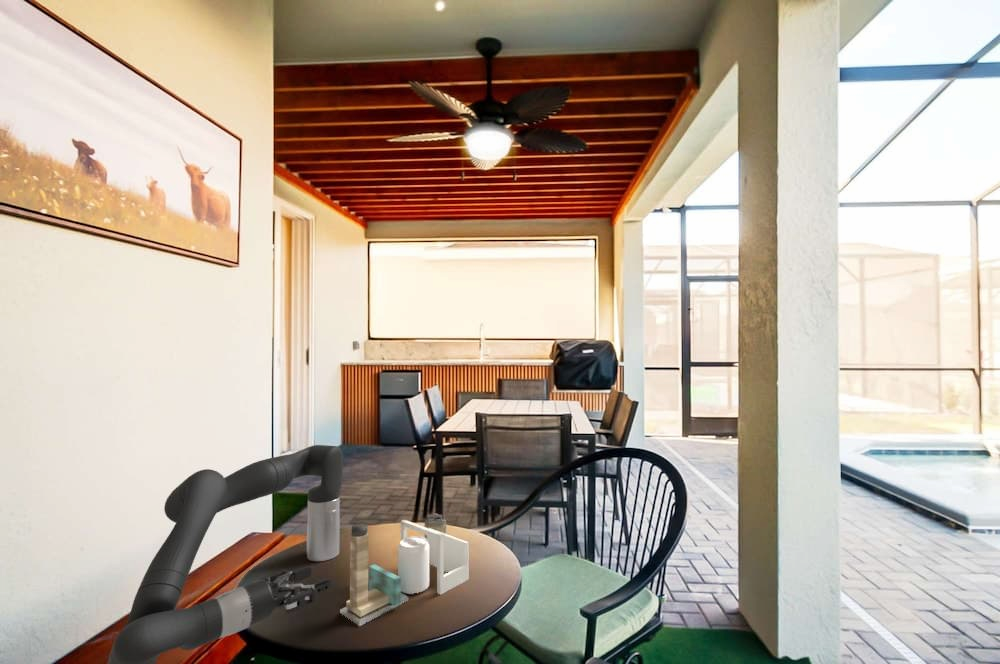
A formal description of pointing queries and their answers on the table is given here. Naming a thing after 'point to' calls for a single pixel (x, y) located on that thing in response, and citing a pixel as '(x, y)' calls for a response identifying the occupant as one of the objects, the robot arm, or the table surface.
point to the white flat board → (371, 615)
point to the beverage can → (413, 564)
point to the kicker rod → (380, 580)
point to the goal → (444, 556)
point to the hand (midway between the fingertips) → (319, 576)
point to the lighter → (435, 523)
